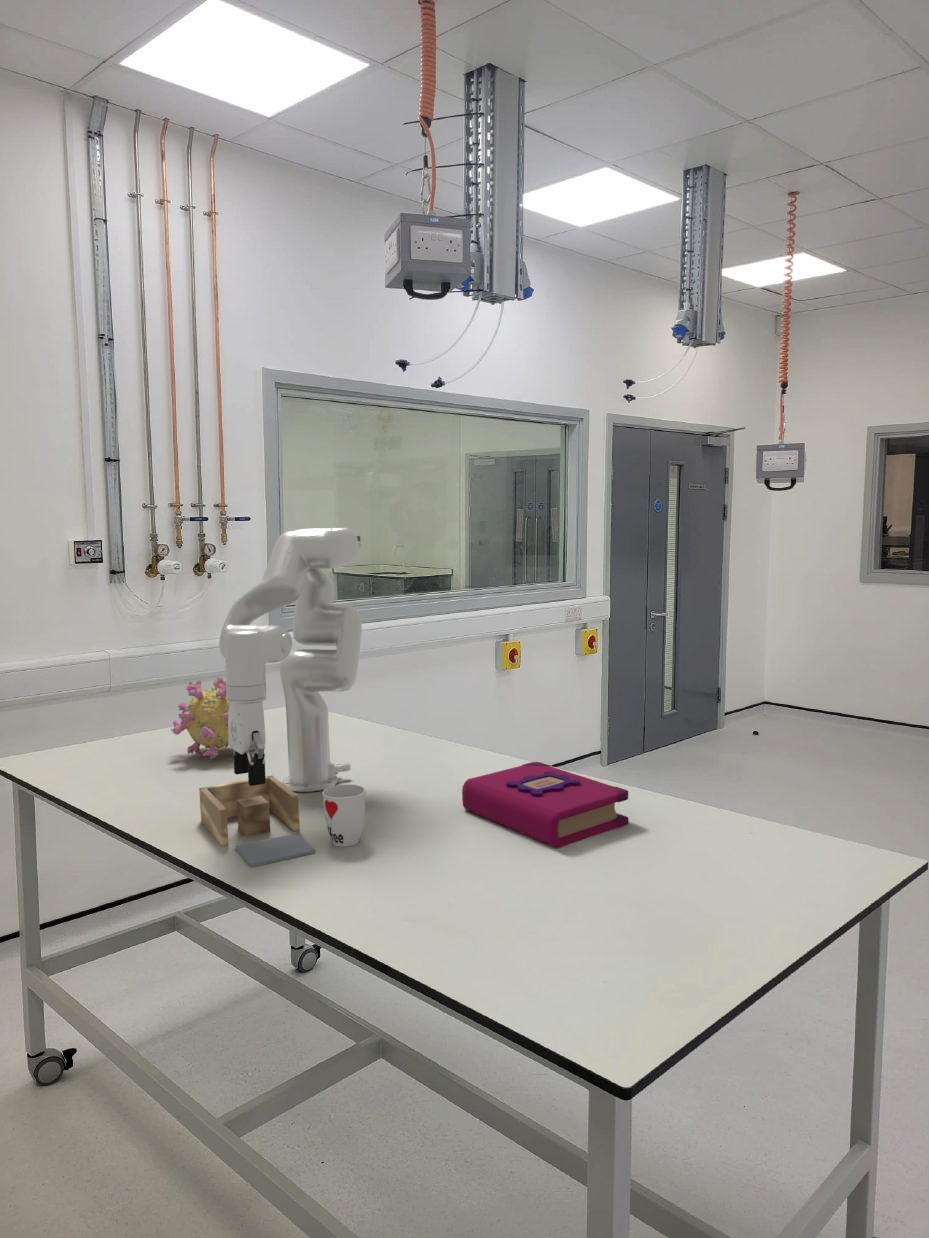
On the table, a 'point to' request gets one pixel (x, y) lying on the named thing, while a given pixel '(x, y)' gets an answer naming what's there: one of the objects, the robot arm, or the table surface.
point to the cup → (344, 813)
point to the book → (546, 803)
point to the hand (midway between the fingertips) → (249, 778)
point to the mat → (274, 849)
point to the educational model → (205, 718)
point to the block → (253, 815)
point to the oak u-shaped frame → (223, 798)
